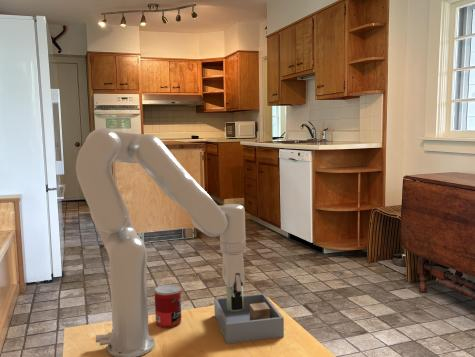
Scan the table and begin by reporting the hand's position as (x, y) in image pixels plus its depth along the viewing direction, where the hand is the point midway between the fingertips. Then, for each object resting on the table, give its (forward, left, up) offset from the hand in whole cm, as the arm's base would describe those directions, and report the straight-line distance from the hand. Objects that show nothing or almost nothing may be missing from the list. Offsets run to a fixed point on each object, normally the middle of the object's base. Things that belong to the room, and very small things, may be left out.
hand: (234, 304), depth 130 cm
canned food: (-19, +8, -7) cm, 22 cm away
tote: (+4, 0, -7) cm, 8 cm away
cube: (+8, 0, -6) cm, 10 cm away
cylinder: (0, 0, -1) cm, 1 cm away
